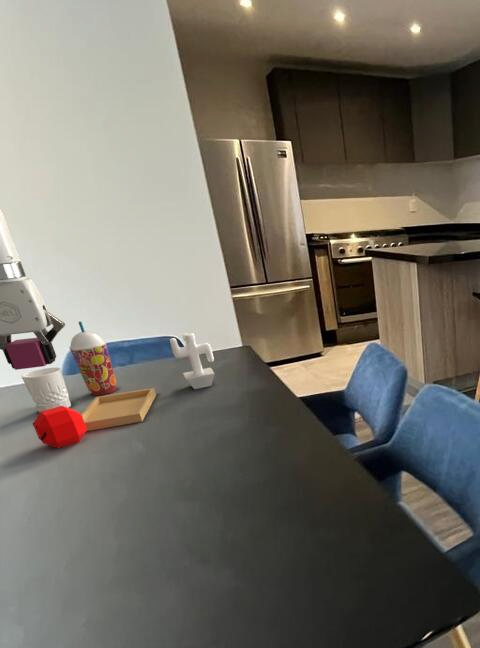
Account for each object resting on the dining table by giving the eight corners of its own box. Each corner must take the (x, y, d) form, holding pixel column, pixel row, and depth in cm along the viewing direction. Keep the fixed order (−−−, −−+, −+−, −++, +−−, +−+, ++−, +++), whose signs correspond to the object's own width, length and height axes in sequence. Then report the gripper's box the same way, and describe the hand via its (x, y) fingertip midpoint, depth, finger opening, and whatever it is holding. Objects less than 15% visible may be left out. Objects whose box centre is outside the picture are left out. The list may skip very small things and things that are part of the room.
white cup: (40, 417, 123) (24, 379, 119) (34, 410, 128) (18, 373, 124) (77, 407, 128) (63, 370, 124) (70, 400, 133) (56, 365, 129)
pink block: (14, 369, 98) (4, 345, 96) (24, 363, 102) (15, 339, 100) (44, 366, 99) (35, 342, 97) (53, 359, 104) (44, 336, 102)
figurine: (222, 384, 138) (208, 332, 132) (185, 392, 133) (169, 339, 128) (217, 378, 144) (204, 328, 138) (182, 386, 139) (167, 334, 133)
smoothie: (81, 394, 138) (55, 324, 130) (113, 385, 144) (90, 317, 136) (94, 399, 133) (68, 326, 125) (127, 389, 139) (103, 319, 132)
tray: (75, 433, 112) (72, 424, 111) (98, 404, 129) (95, 397, 128) (142, 421, 116) (139, 413, 115) (156, 395, 133) (154, 387, 132)
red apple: (40, 444, 107) (26, 412, 104) (83, 431, 113) (71, 400, 110) (48, 454, 102) (34, 421, 99) (93, 440, 108) (80, 408, 105)
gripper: (-69, 280, 88) (-26, 376, 95) (45, 271, 93) (77, 363, 100) (-46, 275, 94) (-8, 365, 101) (58, 267, 100) (88, 354, 107)
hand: (34, 363), depth 101 cm, fingers closed on pink block, 5 cm apart
